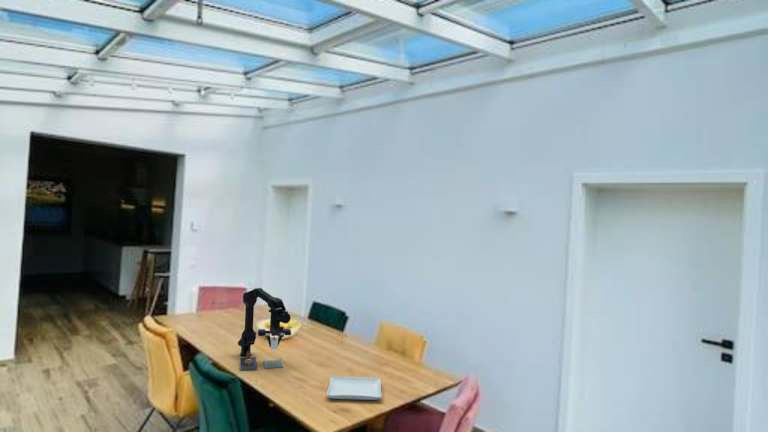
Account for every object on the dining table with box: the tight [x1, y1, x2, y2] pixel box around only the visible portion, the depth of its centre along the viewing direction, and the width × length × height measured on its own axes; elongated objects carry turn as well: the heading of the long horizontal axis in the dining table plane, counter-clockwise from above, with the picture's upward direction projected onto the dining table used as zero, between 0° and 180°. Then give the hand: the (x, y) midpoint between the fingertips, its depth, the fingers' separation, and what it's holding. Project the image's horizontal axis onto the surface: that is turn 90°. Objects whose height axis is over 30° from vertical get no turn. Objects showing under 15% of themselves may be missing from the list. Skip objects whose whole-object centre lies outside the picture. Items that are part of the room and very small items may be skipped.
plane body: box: [239, 350, 258, 372], centre depth 268 cm, size 16×9×6 cm, turn 18°
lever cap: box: [269, 336, 279, 350], centre depth 273 cm, size 6×4×6 cm, turn 18°
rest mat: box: [263, 359, 284, 370], centre depth 273 cm, size 13×10×1 cm
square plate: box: [326, 376, 383, 401], centre depth 237 cm, size 27×27×4 cm
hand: (273, 346), depth 273 cm, fingers closed on lever cap, 4 cm apart
